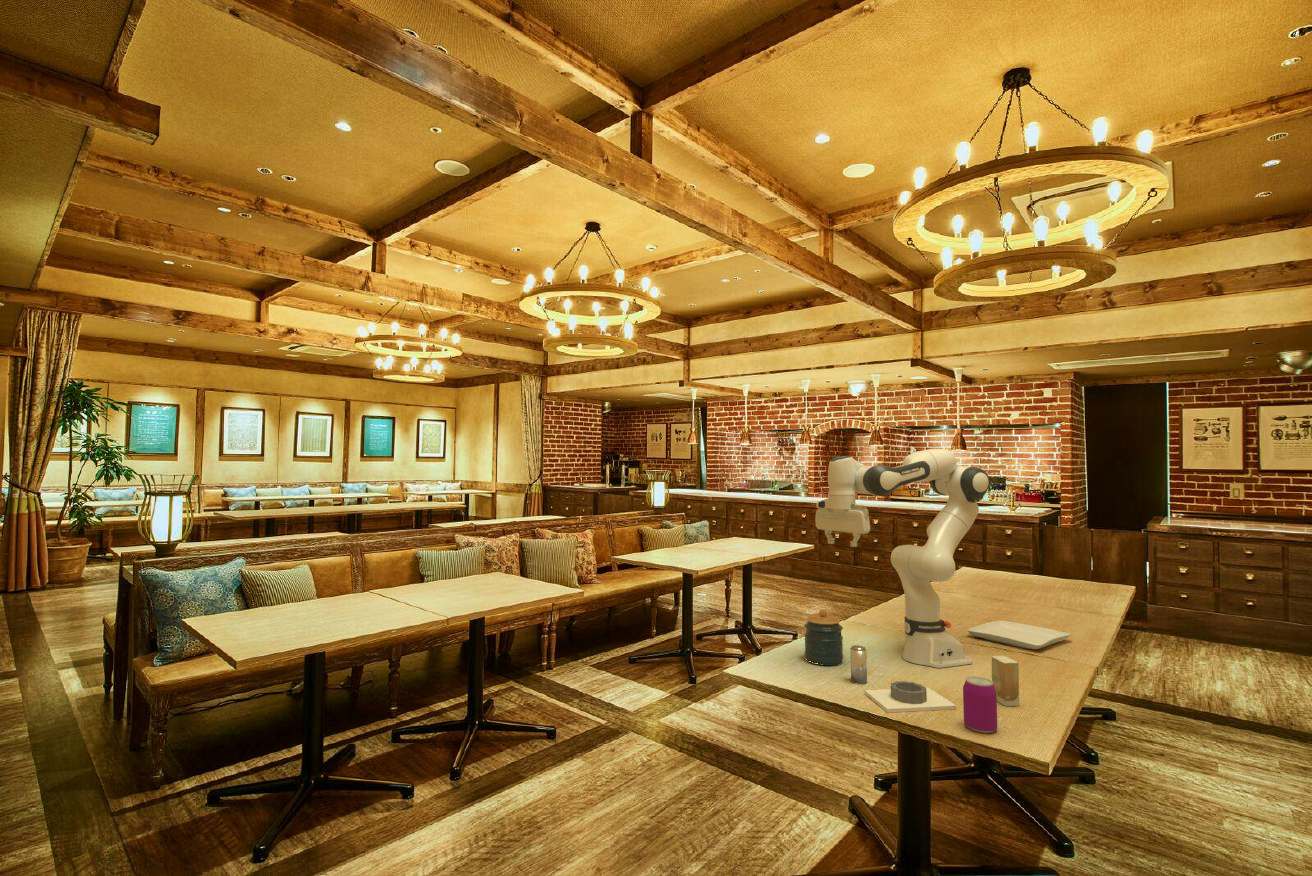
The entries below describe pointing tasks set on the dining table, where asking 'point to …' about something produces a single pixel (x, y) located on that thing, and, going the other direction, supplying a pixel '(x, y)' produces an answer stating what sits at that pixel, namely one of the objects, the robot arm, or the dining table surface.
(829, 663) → the canister
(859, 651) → the cylinder
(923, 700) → the ring block
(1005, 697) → the skincare box
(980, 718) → the beverage can
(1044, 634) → the square plate
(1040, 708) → the dining table surface
